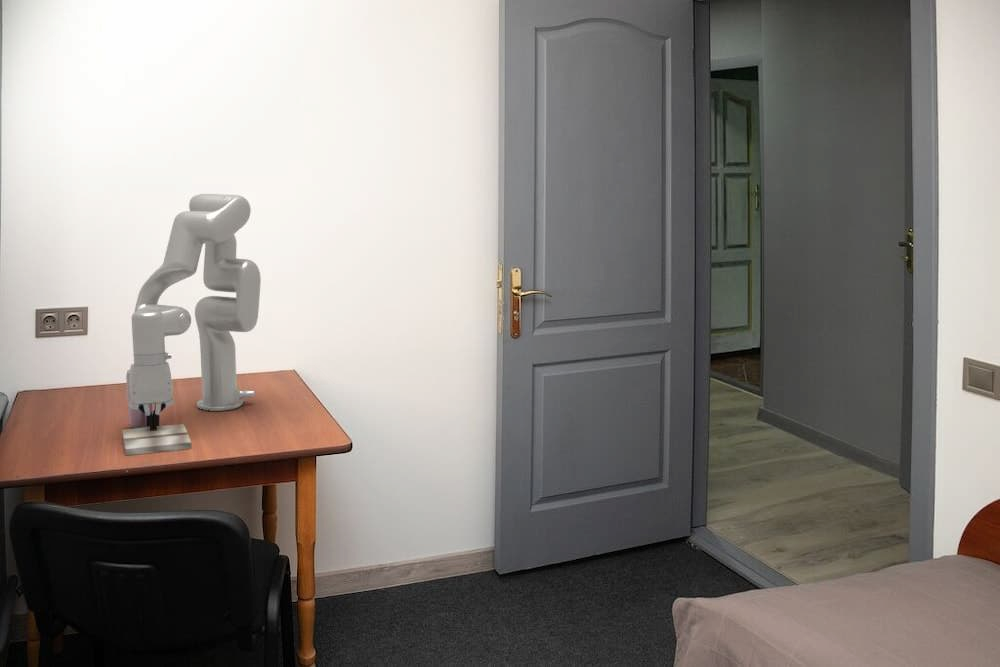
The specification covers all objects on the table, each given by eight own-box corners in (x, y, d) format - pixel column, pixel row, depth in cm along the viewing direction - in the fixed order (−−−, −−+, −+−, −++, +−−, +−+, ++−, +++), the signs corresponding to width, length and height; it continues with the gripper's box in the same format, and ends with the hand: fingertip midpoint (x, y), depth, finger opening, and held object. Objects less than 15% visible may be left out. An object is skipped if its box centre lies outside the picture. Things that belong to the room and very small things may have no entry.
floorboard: (187, 439, 237) (187, 433, 237) (191, 448, 230) (191, 442, 230) (124, 445, 231) (123, 439, 231) (125, 455, 224) (125, 449, 224)
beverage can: (148, 421, 252) (145, 367, 249) (156, 426, 248) (153, 371, 245) (126, 424, 249) (122, 369, 246) (133, 430, 244) (130, 374, 241)
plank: (183, 429, 246) (183, 423, 245) (187, 438, 238) (187, 432, 238) (122, 435, 239) (122, 429, 239) (124, 444, 232) (123, 438, 232)
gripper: (179, 354, 243) (182, 422, 247) (117, 358, 237) (121, 428, 241) (182, 360, 236) (185, 430, 240) (118, 364, 230) (122, 436, 234)
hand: (153, 428), depth 240 cm, fingers closed
